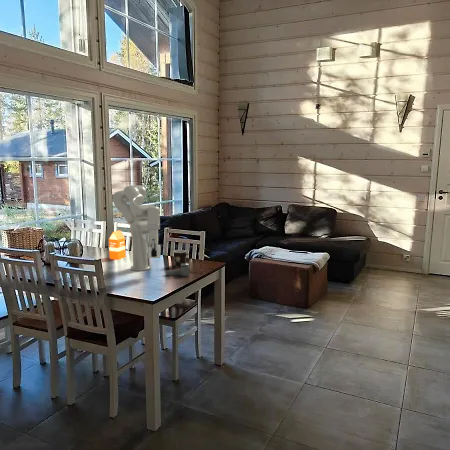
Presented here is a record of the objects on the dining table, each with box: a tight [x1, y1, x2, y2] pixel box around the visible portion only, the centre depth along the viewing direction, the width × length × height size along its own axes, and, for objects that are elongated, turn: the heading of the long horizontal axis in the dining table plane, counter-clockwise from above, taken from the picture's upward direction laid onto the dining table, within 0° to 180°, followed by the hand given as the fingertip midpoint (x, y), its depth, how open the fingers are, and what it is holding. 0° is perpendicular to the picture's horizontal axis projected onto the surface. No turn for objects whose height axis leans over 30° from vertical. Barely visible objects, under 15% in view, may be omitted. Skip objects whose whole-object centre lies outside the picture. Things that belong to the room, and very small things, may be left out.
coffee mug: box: [173, 249, 192, 268], centre depth 274 cm, size 12×9×10 cm
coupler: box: [165, 262, 190, 277], centre depth 254 cm, size 7×14×7 cm, turn 95°
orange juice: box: [108, 229, 126, 261], centre depth 296 cm, size 8×9×20 cm
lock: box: [147, 244, 162, 259], centre depth 250 cm, size 6×7×8 cm
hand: (154, 255), depth 251 cm, fingers closed on lock, 6 cm apart
